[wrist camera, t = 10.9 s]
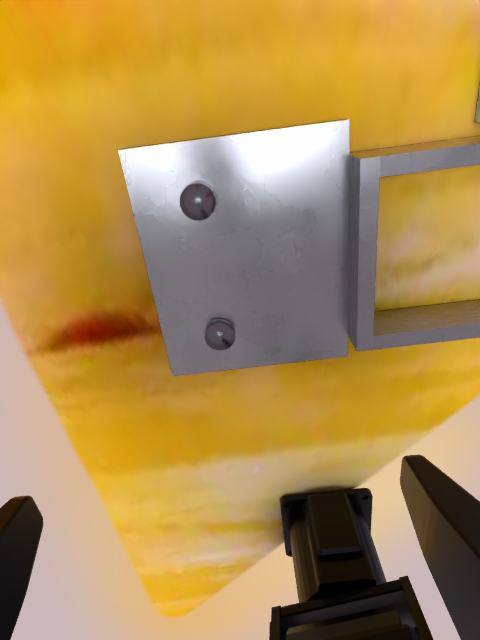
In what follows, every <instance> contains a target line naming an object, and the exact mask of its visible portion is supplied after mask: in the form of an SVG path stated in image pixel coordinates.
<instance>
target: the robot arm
mask: <svg viewBox="0 0 480 640" xmlns="http://www.w3.org/2000/svg"><path fill="white" fill-rule="evenodd" d="M400 484H401V489H402V492H403V495H404V498H405V501H406V504H407V507H408V511H409V514H410V516H411V520H412V522H413V525H414V529H415V531H416V534H417V538H418V541H419V544H420V546H421V549H422V552H423V555H424V558H425V560H426V562H427V565H428V567H429V569H430V572H431V574H432V576H433V578H434V581H435V583H436V585H437V587H438V589H439V592H440V594H441V596H442V598H443V600H444V603H445V605H446V607H447V610H448V612H449V614H450V616H451V618H452V621H453V623H454V625H455V627H456V629H457V632H458V634H459V636H460V638H461V640H480V501H478V500H477V499H475V498H474V497H473V496H472V495H471V494H469V493H468V492H467V491H466V490H465V489H463V488H462V487H461V486H460V485H458V484H457V483H456V482H455V481H453V480H452V479H451V478H450V477H448V476H447V475H446V474H445V473H443V472H442V471H441V470H440V469H438V468H437V467H436V466H435V465H433V464H432V463H431V462H430V461H428V460H427V459H426V458H425V457H423V456H421V455H410V456H404V457H403V459H402V466H401V476H400ZM280 505H281V514H282V523H283V532H284V542H285V549H286V555H288V556H290V557H293V563H294V570H295V577H296V584H297V591H298V598H299V603H297V604H292V605H288V606H284V607H281V606H276V607H272V616H271V622H270V638H269V639H270V640H433V638H432V635H431V632H430V630H429V628H428V625H427V623H426V620H425V618H424V615H423V613H422V610H421V608H420V605H419V603H418V600H417V598H416V595H415V593H414V590H413V588H412V585H411V583H410V580H409V578H408V576H404V577H400V578H399V580H395V581H391V582H386V579H385V576H384V573H383V570H382V567H381V564H380V561H379V558H378V555H377V552H376V549H375V546H374V543H373V540H372V537H371V534H370V533H371V514H372V494H371V491H370V490H369V489H367V488H359V489H349V490H340V491H330V492H320V493H310V494H300V495H291V496H284V497H282V498H281V499H280ZM42 528H43V517H42V515H41V513H40V511H39V509H38V507H37V505H36V504H35V502H34V500H33V498H32V497H30V496H19V497H14V498H12V499H10V500H9V501H8V502H7V503H5V504H4V505H3V506H2V507H1V508H0V640H10V639H11V636H12V633H13V630H14V627H15V625H16V622H17V619H18V616H19V613H20V610H21V607H22V604H23V601H24V598H25V595H26V592H27V588H28V584H29V581H30V576H31V572H32V569H33V564H34V561H35V557H36V553H37V548H38V544H39V541H40V536H41V532H42Z"/></svg>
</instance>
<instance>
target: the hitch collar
mask: <svg viewBox="0 0 480 640" xmlns="http://www.w3.org/2000/svg"><path fill="white" fill-rule="evenodd" d="M118 152H119V156H120V160H121V164H122V169H123V173H124V177H125V181H126V185H127V189H128V194H129V198H130V202H131V206H132V210H133V214H134V218H135V223H136V227H137V231H138V235H139V239H140V243H141V247H142V252H143V256H144V260H145V264H146V268H147V272H148V276H149V281H150V285H151V289H152V293H153V297H154V301H155V306H156V310H157V314H158V318H159V322H160V326H161V330H162V335H163V339H164V343H165V347H166V351H167V355H168V359H169V364H170V368H171V372H172V376H178V375H187V374H196V373H204V372H213V371H222V370H231V369H240V368H249V367H257V366H266V365H275V364H284V363H293V362H302V361H311V360H319V359H328V358H337V357H346V356H348V336H349V338H350V339H351V341H352V343H353V345H354V347H355V349H356V351H364V350H373V349H382V348H391V347H400V346H409V345H417V344H426V343H435V342H444V341H453V340H461V339H470V338H479V337H480V300H471V301H462V302H454V303H445V304H437V305H428V306H420V307H411V308H402V309H394V310H385V311H377V312H374V302H375V277H376V253H377V228H378V203H379V178H380V177H385V176H393V175H401V174H408V173H416V172H424V171H432V170H440V169H448V168H455V167H463V166H471V165H479V164H480V136H473V137H465V138H458V139H450V140H442V141H435V142H427V143H419V144H412V145H404V146H396V147H389V148H381V149H373V150H365V151H358V152H350V153H349V120H347V119H343V120H336V121H328V122H321V123H313V124H306V125H298V126H291V127H283V128H276V129H268V130H260V131H253V132H245V133H238V134H230V135H223V136H215V137H208V138H200V139H193V140H185V141H178V142H170V143H163V144H155V145H148V146H140V147H133V148H125V149H121V150H118Z"/></svg>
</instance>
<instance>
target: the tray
mask: <svg viewBox="0 0 480 640" xmlns="http://www.w3.org/2000/svg"><path fill="white" fill-rule="evenodd" d="M475 122H480V87H479V94H478V101H477V108H476V116H475Z"/></svg>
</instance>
